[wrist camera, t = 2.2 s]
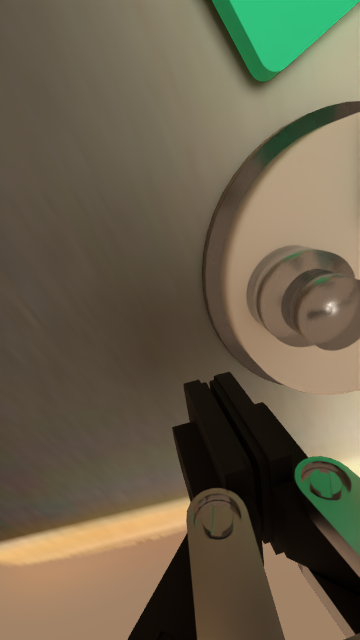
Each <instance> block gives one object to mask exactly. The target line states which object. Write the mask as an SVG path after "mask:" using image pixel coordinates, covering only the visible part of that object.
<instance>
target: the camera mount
mask: <svg viewBox="0 0 360 640" xmlns="http://www.w3.org/2000/svg"><path fill="white" fill-rule="evenodd" d="M359 1H360V0H212V2H213V4H214V6H215V8H216V10H217V11H218V13H219V15H220V17H221V19H222V21H223V23H224V25H225V26H226V28H227V30H228V32H229V34H230V36H231V38H232V40H233V41H234V43H235V45H236V47H237V49H238V51H239V53H240V55H241V56H242V58H243V60H244V62H245V64H246V66H247V68H248V70H249V71H250V73H251V75H252V76H253V77H254V78H255V79H256V80H258V81H261V82H265V81H269V80H271V79H272V78H273V77H275V76H276V75H277V74H278V73H280V72H281V71H282V70H283V69H285V68H286V67H287V66H288V65H289V64H290V63H291V62H292V61H294V60H295V59H296V58H297V57H298V56H299V55H300V54H301V53H303V52H304V51H305V50H306V49H307V48H308V47H309V46H310V45H311V44H313V43H314V42H315V41H316V40H317V39H318V38H319V37H320V36H321V35H323V34H324V33H325V32H326V31H327V30H328V29H329V28H330V27H331V26H333V25H334V24H335V23H336V22H337V21H338V20H339V19H340V18H342V17H343V16H344V15H345V14H346V13H347V12H348V11H349V10H350V9H352V8H353V7H354V6H355V5H356V4H357V3H358V2H359Z"/></svg>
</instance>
